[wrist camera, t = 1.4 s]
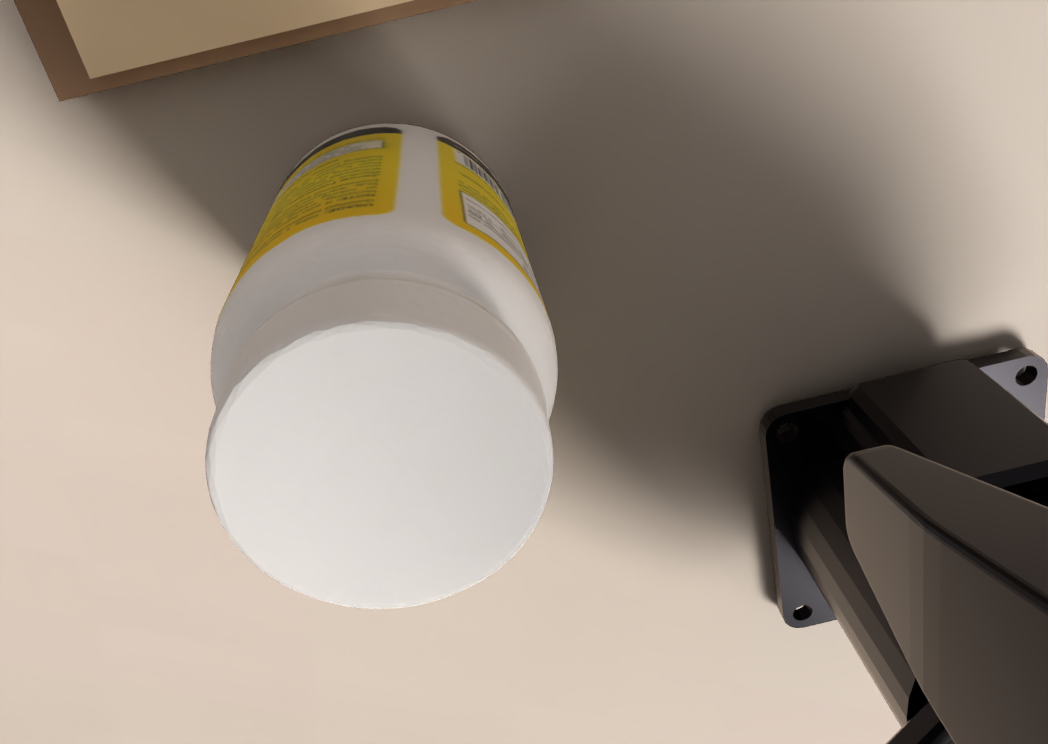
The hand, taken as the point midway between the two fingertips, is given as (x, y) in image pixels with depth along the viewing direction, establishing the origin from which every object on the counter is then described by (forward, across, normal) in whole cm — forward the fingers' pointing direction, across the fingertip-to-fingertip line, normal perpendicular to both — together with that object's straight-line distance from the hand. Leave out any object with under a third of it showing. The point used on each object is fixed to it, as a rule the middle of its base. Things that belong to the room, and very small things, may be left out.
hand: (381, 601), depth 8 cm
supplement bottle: (+11, 0, 0) cm, 11 cm away
